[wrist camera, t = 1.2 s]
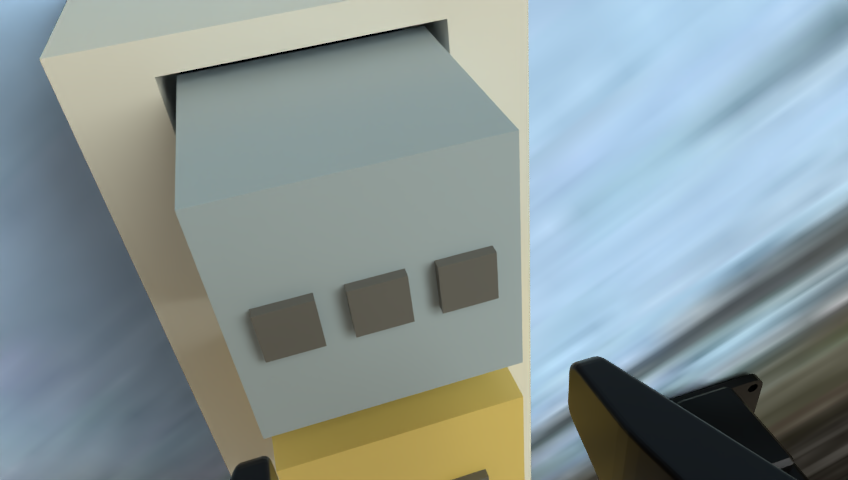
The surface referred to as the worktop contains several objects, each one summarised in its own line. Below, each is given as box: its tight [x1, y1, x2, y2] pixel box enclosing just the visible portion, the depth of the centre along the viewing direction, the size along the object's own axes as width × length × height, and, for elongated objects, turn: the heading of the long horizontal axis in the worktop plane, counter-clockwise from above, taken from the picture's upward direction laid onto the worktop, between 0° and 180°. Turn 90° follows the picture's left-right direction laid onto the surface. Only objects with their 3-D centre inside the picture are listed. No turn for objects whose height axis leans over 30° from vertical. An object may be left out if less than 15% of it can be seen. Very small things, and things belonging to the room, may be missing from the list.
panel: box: [39, 0, 531, 480], centre depth 20 cm, size 19×9×4 cm, turn 6°
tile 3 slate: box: [175, 26, 523, 439], centre depth 13 cm, size 5×5×5 cm
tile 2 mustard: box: [272, 367, 525, 480], centre depth 17 cm, size 5×5×5 cm
